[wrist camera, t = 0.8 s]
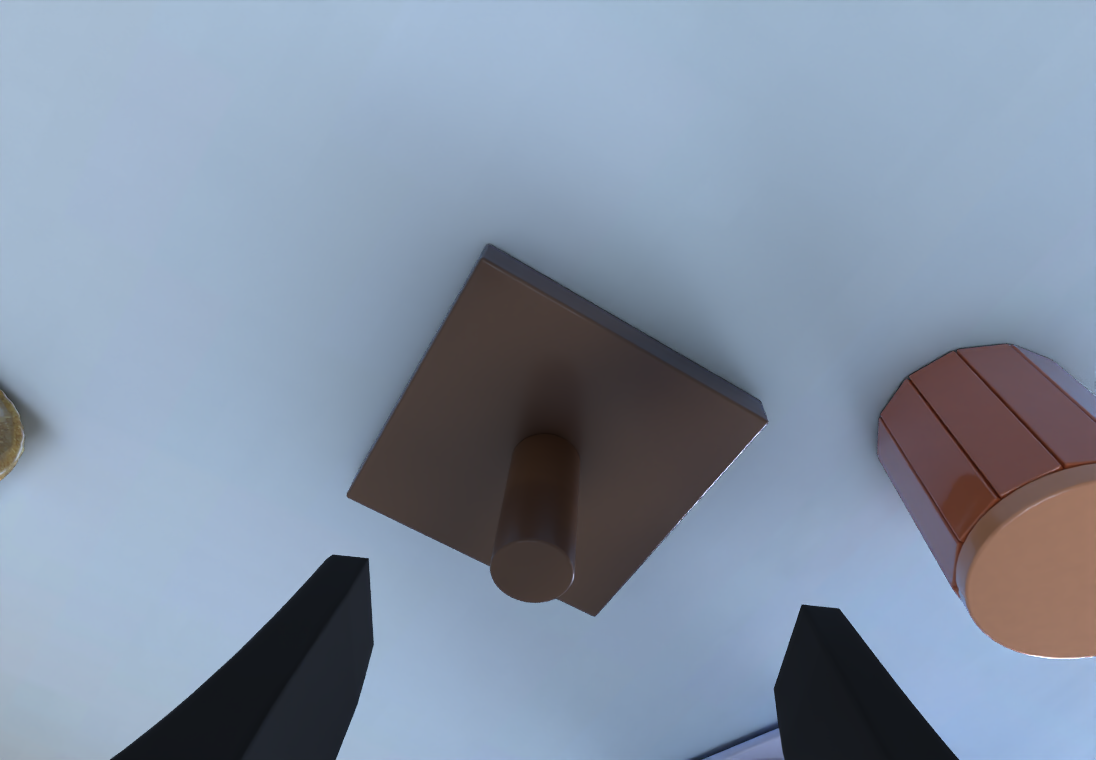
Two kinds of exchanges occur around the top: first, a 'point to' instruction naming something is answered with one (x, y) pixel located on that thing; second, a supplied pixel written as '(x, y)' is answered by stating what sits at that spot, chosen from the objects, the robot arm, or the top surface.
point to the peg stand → (551, 438)
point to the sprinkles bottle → (9, 436)
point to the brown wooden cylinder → (1003, 491)
